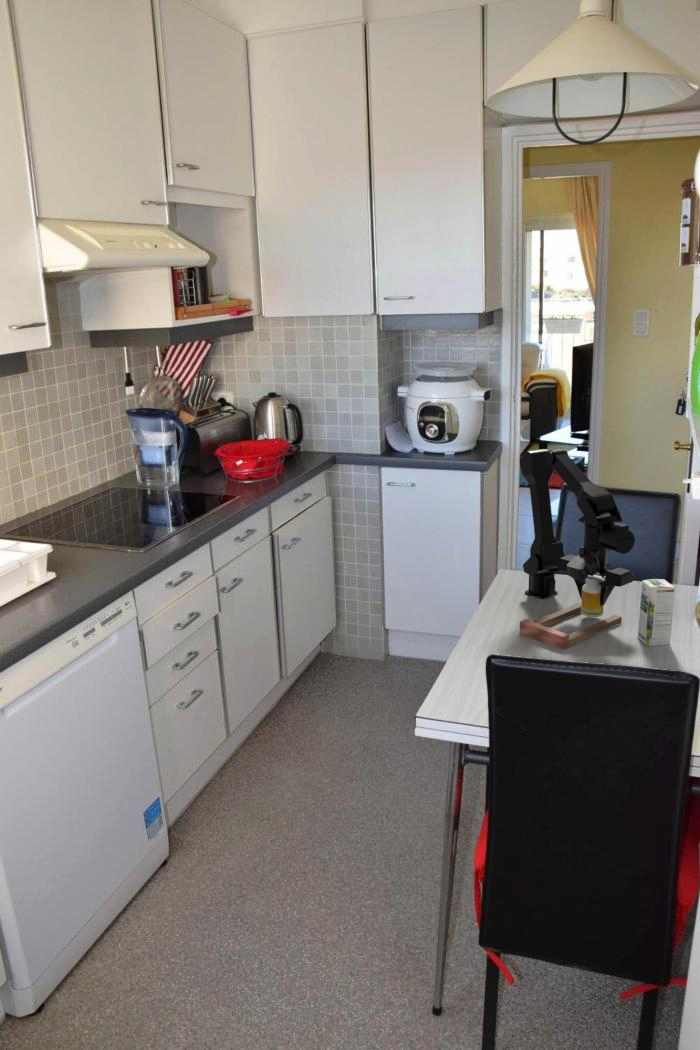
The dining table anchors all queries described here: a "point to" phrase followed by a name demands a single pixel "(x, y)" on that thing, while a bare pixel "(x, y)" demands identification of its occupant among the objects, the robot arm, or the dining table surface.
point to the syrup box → (656, 612)
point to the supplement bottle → (591, 597)
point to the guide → (558, 638)
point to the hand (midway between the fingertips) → (592, 602)
